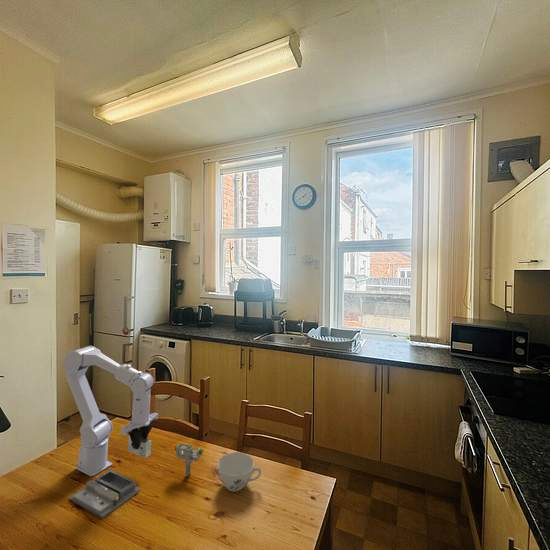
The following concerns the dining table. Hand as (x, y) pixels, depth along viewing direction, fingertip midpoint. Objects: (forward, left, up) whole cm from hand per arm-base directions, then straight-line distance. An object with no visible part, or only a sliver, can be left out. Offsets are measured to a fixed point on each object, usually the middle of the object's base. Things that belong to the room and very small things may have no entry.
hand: (139, 446), depth 107 cm
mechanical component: (+17, +7, -9) cm, 21 cm away
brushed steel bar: (0, 0, -2) cm, 2 cm away
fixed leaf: (+1, -13, -9) cm, 16 cm away
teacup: (+36, +11, -9) cm, 39 cm away
